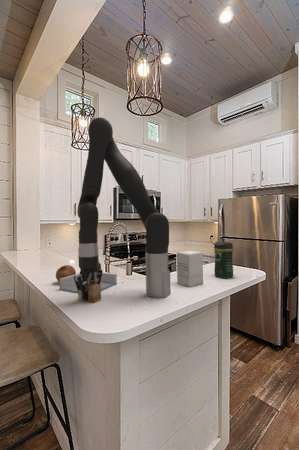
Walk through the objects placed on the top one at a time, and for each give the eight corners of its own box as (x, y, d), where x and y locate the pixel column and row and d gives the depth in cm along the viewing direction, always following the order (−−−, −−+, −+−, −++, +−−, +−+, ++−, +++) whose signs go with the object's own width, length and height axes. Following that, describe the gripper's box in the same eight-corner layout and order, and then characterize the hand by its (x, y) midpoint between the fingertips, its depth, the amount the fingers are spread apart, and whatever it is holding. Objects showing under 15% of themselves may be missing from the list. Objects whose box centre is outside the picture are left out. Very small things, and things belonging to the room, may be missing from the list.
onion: (64, 291, 112) (60, 274, 107) (54, 283, 118) (49, 267, 113) (81, 280, 119) (77, 264, 114) (70, 273, 124) (66, 257, 119)
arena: (116, 284, 111) (116, 274, 111) (90, 295, 95) (90, 283, 95) (88, 280, 120) (87, 270, 120) (59, 290, 104) (59, 278, 104)
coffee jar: (236, 277, 120) (235, 241, 119) (223, 279, 117) (222, 242, 117) (224, 273, 129) (223, 240, 129) (211, 275, 126) (211, 241, 126)
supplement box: (190, 280, 117) (190, 250, 117) (203, 284, 110) (203, 252, 109) (176, 283, 112) (176, 251, 112) (189, 287, 105) (188, 254, 104)
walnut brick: (101, 299, 90) (100, 284, 90) (94, 303, 87) (93, 287, 87) (85, 296, 94) (85, 282, 94) (78, 299, 91) (77, 284, 90)
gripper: (82, 258, 82) (83, 306, 82) (107, 252, 95) (108, 294, 95) (67, 256, 86) (68, 303, 86) (93, 251, 98) (94, 292, 98)
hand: (89, 298), depth 90 cm, fingers closed on walnut brick, 4 cm apart
